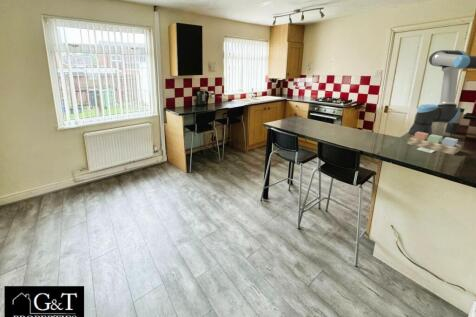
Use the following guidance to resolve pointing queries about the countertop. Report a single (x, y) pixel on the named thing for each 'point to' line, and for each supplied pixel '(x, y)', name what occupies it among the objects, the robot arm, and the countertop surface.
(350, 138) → the countertop surface
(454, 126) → the travel mug
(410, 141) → the key panel
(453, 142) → the slate key
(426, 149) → the card
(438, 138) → the sage key
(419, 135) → the terracotta key
